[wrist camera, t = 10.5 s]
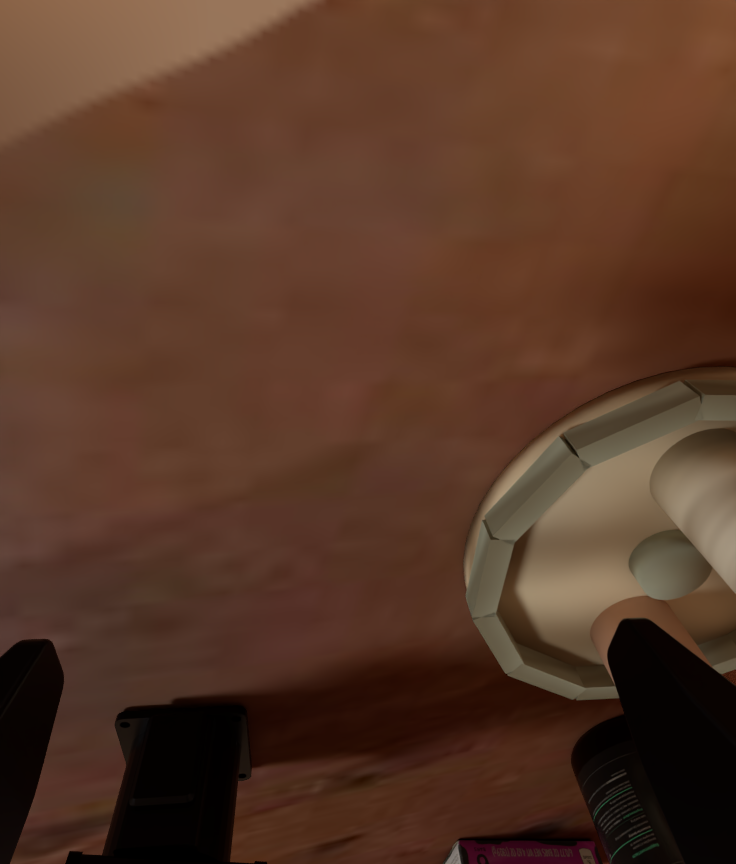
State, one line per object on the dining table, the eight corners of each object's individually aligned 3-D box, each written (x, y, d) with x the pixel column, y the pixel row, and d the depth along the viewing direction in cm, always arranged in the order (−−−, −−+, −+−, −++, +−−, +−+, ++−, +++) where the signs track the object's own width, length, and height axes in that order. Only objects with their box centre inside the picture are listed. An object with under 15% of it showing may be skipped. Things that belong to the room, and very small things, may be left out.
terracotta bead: (655, 649, 28) (717, 748, 24) (580, 653, 28) (630, 754, 23) (683, 594, 26) (756, 691, 22) (603, 596, 26) (662, 696, 21)
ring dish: (745, 654, 31) (773, 691, 29) (440, 668, 29) (449, 708, 27) (927, 370, 22) (985, 396, 20) (502, 362, 20) (522, 389, 18)
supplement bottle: (697, 728, 34) (862, 994, 24) (617, 781, 37) (735, 1042, 27) (626, 699, 32) (775, 981, 22) (545, 758, 35) (644, 1035, 24)
